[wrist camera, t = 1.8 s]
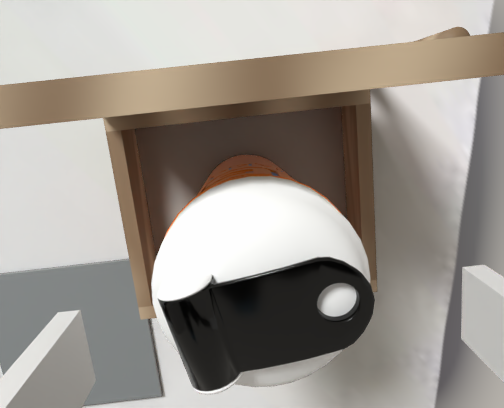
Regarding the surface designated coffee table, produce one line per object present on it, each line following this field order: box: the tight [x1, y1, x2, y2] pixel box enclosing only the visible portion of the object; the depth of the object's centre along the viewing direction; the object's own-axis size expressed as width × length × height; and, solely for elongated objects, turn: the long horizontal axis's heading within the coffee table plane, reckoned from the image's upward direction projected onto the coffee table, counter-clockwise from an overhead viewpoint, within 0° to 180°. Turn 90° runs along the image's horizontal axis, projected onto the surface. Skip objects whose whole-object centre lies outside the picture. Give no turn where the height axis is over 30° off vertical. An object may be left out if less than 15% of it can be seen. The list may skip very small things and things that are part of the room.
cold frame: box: [0, 27, 504, 320], centre depth 24 cm, size 19×17×20 cm
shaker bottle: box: [151, 155, 375, 394], centre depth 24 cm, size 9×9×20 cm
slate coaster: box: [0, 259, 162, 406], centre depth 35 cm, size 13×13×1 cm
